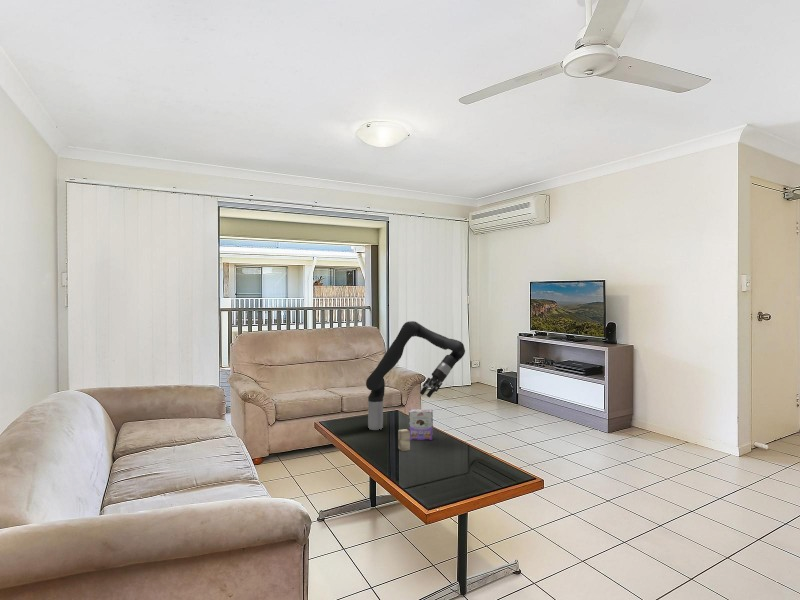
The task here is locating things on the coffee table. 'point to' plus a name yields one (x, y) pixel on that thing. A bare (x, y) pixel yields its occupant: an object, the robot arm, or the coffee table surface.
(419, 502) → the coffee table surface
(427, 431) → the candy box
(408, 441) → the birch block
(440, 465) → the coffee table surface
